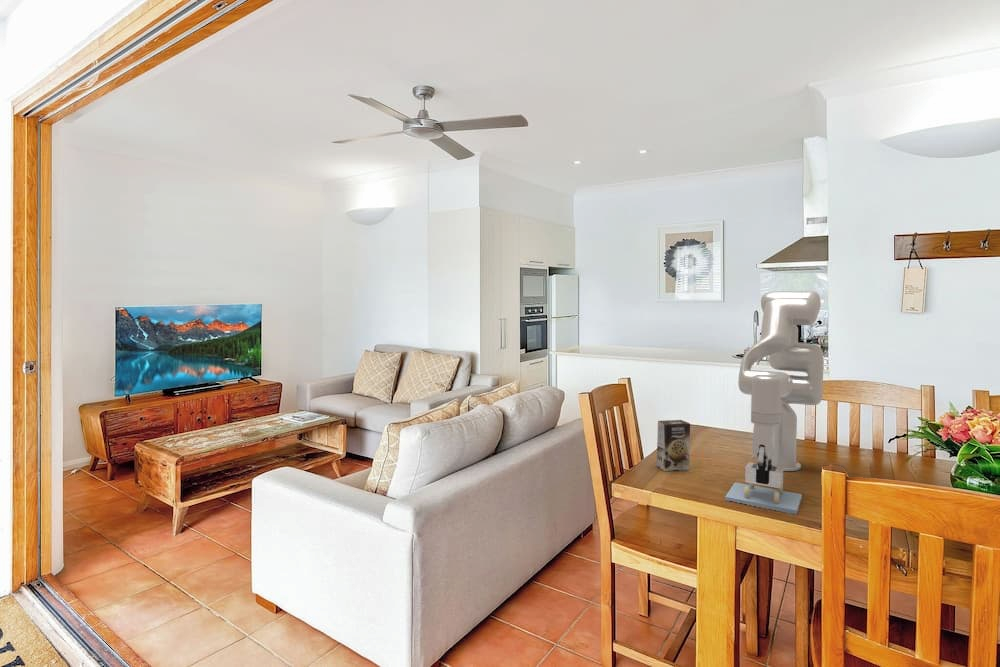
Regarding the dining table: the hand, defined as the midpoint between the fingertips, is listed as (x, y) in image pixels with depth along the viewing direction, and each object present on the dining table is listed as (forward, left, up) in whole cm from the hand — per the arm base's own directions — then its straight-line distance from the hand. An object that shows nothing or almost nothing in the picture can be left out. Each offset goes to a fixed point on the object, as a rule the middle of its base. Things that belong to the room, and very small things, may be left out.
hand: (763, 479), depth 151 cm
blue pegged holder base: (0, 0, -6) cm, 6 cm away
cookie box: (-14, -30, -6) cm, 34 cm away
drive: (0, 0, -1) cm, 1 cm away
